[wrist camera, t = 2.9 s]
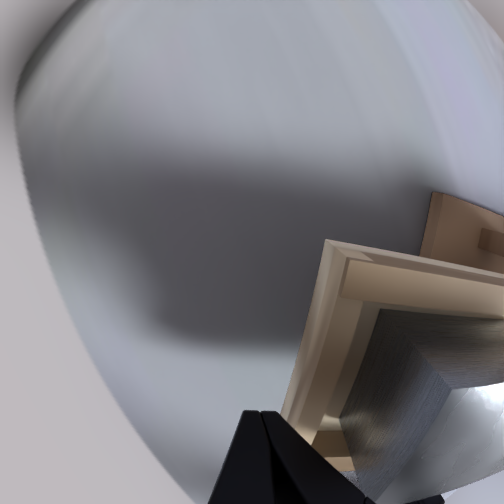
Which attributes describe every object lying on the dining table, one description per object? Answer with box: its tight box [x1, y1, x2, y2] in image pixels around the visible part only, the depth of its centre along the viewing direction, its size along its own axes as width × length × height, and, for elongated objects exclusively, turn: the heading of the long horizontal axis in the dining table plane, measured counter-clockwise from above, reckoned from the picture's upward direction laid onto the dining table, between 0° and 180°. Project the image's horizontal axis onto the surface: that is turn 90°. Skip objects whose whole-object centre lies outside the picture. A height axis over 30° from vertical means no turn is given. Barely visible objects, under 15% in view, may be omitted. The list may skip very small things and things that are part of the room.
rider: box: [339, 308, 504, 504], centre depth 8 cm, size 5×7×4 cm
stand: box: [419, 192, 504, 274], centre depth 13 cm, size 14×10×7 cm
